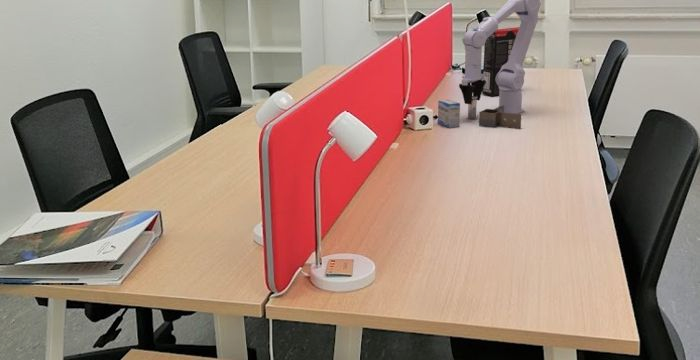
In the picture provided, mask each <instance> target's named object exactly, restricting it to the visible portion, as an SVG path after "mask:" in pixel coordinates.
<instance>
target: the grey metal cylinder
mask: <svg viewBox="0 0 700 360" xmlns="http://www.w3.org/2000/svg"><path fill="white" fill-rule="evenodd" d="M477 101H478V100H477V96H473V95H472V100H471V104H467V120H471V121H473V120H474V121H475V120H477V105H478V104H477V103H478V102H477Z"/></svg>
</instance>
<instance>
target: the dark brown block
mask: <svg viewBox="0 0 700 360" xmlns="http://www.w3.org/2000/svg"><path fill="white" fill-rule="evenodd" d="M493 110H503V112H504V105H502V106H500V107H499V106H498V107H496V108H493ZM478 119H479V118H478ZM478 126H479V127H486V128H493V129H494V128H495V129H496V128H497V127H499V126H498V120H496V121H492V120H483V119H479V120H478Z"/></svg>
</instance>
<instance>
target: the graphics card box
mask: <svg viewBox="0 0 700 360" xmlns="http://www.w3.org/2000/svg"><path fill="white" fill-rule="evenodd" d="M519 27H520V26H519ZM519 27H518V26H517V27H506V28H505V27H504V28H498V29H497V30H496V31H495V32H494V33H493V34H491V35H490V36H489V37H488V38H487V39H486V42H485V44H484V46H483V47H484V49H483V51H484V52H483V69H482V70H483V71H482V74H484V79H483V80H486V84H485V85H484V87H483V90H482V93H481V95H486V96H490V97H494V96H499V92H500V89H499V86H498V85H497V84H496V76H497V74H498V72H499V71H500V70H501V67H502V66H503V65H504V64H506V63H507V62H508V59H509V56H510V53H511V50H512V48H513V45H514V42H515V39H516V36H517V33H518V30H519ZM513 73H514V72H513Z"/></svg>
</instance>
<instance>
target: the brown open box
mask: <svg viewBox="0 0 700 360" xmlns="http://www.w3.org/2000/svg"><path fill="white" fill-rule="evenodd" d="M478 116H479V117H478V119H483V120H492V121H496V120H498V127H501V128H512V129H518V130H520V129H521V128H522V126H521V125H522V113H519V114H515V113H505V112H503V110H494V108H493V109H491V108H485V109H483V110H482V111H479V114H478Z"/></svg>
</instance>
